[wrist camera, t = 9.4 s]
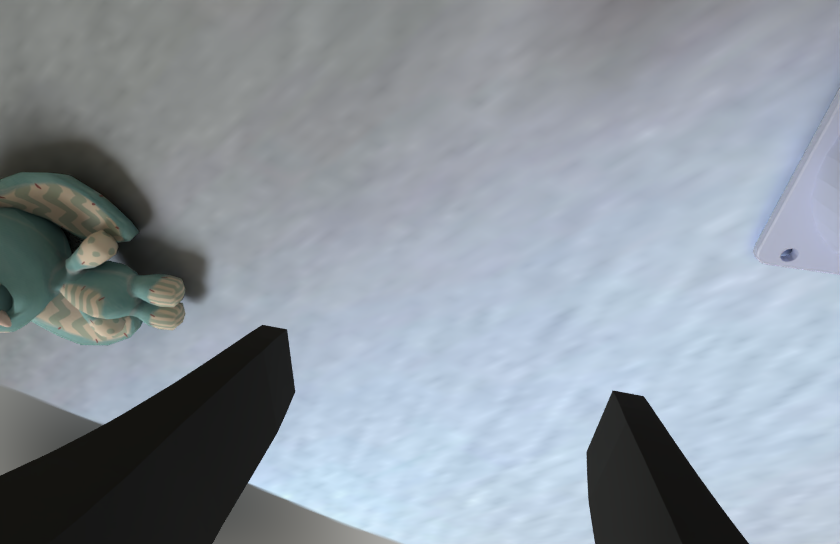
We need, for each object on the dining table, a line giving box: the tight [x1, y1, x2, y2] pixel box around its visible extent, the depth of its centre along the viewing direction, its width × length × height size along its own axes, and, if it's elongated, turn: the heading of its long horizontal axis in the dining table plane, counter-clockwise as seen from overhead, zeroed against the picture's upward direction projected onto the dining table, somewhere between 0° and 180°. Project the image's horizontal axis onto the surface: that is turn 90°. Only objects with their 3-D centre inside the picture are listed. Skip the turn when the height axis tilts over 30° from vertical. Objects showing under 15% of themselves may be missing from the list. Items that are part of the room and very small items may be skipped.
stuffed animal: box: [0, 172, 185, 345], centre depth 21 cm, size 11×7×12 cm
